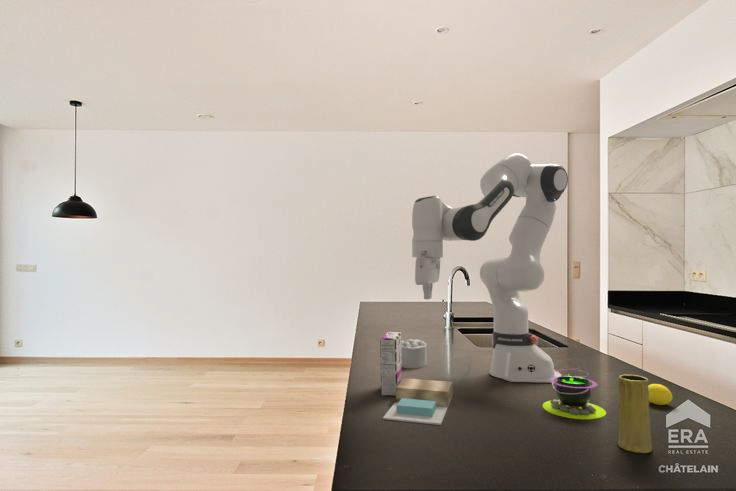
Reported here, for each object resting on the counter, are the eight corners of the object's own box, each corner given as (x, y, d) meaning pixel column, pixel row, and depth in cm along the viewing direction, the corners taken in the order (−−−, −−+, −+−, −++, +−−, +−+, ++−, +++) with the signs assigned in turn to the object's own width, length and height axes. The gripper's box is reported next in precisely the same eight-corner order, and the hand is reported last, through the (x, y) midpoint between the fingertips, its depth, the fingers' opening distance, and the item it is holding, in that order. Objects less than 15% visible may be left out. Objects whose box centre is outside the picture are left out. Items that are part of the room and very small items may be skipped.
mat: (447, 408, 119) (447, 407, 119) (440, 425, 108) (440, 423, 108) (394, 404, 123) (394, 402, 123) (383, 419, 112) (383, 417, 112)
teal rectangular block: (432, 408, 112) (432, 416, 112) (436, 401, 118) (436, 409, 118) (396, 405, 115) (396, 413, 115) (401, 398, 121) (401, 405, 121)
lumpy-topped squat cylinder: (428, 361, 174) (427, 338, 175) (423, 369, 162) (423, 344, 162) (401, 359, 177) (400, 337, 177) (394, 367, 164) (394, 343, 164)
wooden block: (452, 396, 130) (452, 381, 130) (448, 407, 121) (448, 391, 121) (404, 392, 134) (404, 378, 134) (396, 402, 125) (396, 387, 125)
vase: (611, 442, 97) (610, 374, 98) (639, 441, 98) (637, 373, 98) (630, 454, 91) (629, 382, 92) (659, 453, 92) (658, 381, 92)
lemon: (669, 404, 124) (672, 384, 123) (673, 410, 119) (676, 390, 118) (639, 398, 126) (642, 378, 126) (642, 404, 121) (645, 383, 121)
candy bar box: (386, 385, 142) (385, 331, 142) (402, 385, 141) (402, 332, 141) (379, 395, 131) (379, 337, 131) (397, 396, 130) (396, 338, 130)
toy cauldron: (529, 405, 122) (529, 363, 123) (571, 397, 128) (570, 358, 129) (575, 423, 109) (575, 376, 109) (620, 414, 115) (619, 370, 115)
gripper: (432, 250, 123) (432, 302, 123) (443, 251, 143) (443, 296, 143) (409, 251, 125) (409, 302, 125) (422, 251, 145) (423, 296, 144)
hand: (427, 299), depth 134 cm, fingers closed
